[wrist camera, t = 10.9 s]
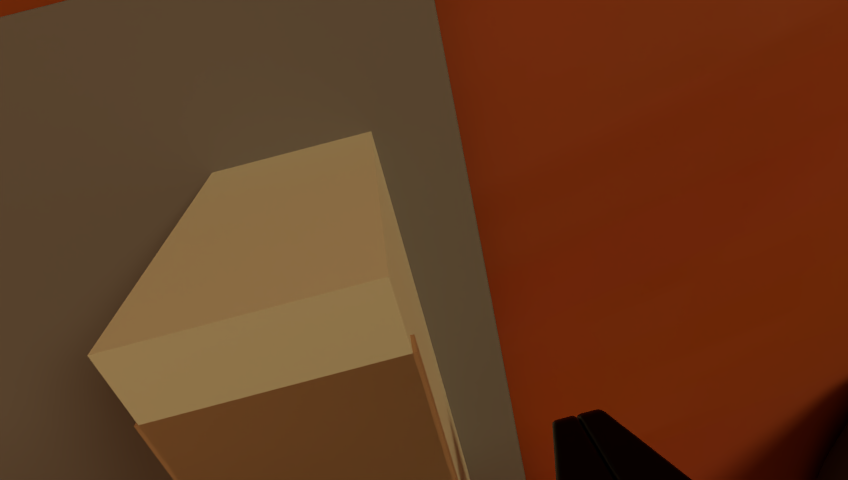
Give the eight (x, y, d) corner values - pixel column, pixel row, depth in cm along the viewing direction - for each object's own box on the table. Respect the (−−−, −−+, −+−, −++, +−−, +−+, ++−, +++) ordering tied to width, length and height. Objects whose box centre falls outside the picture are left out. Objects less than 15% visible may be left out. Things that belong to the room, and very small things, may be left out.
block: (374, 130, 9) (393, 275, 5) (470, 472, 14) (523, 699, 10) (208, 173, 9) (82, 356, 5) (362, 501, 14) (367, 740, 10)
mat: (412, -85, 8) (417, -88, 8) (527, 501, 16) (533, 519, 16) (-365, 112, 8) (-414, 121, 8) (127, 605, 16) (119, 627, 15)
